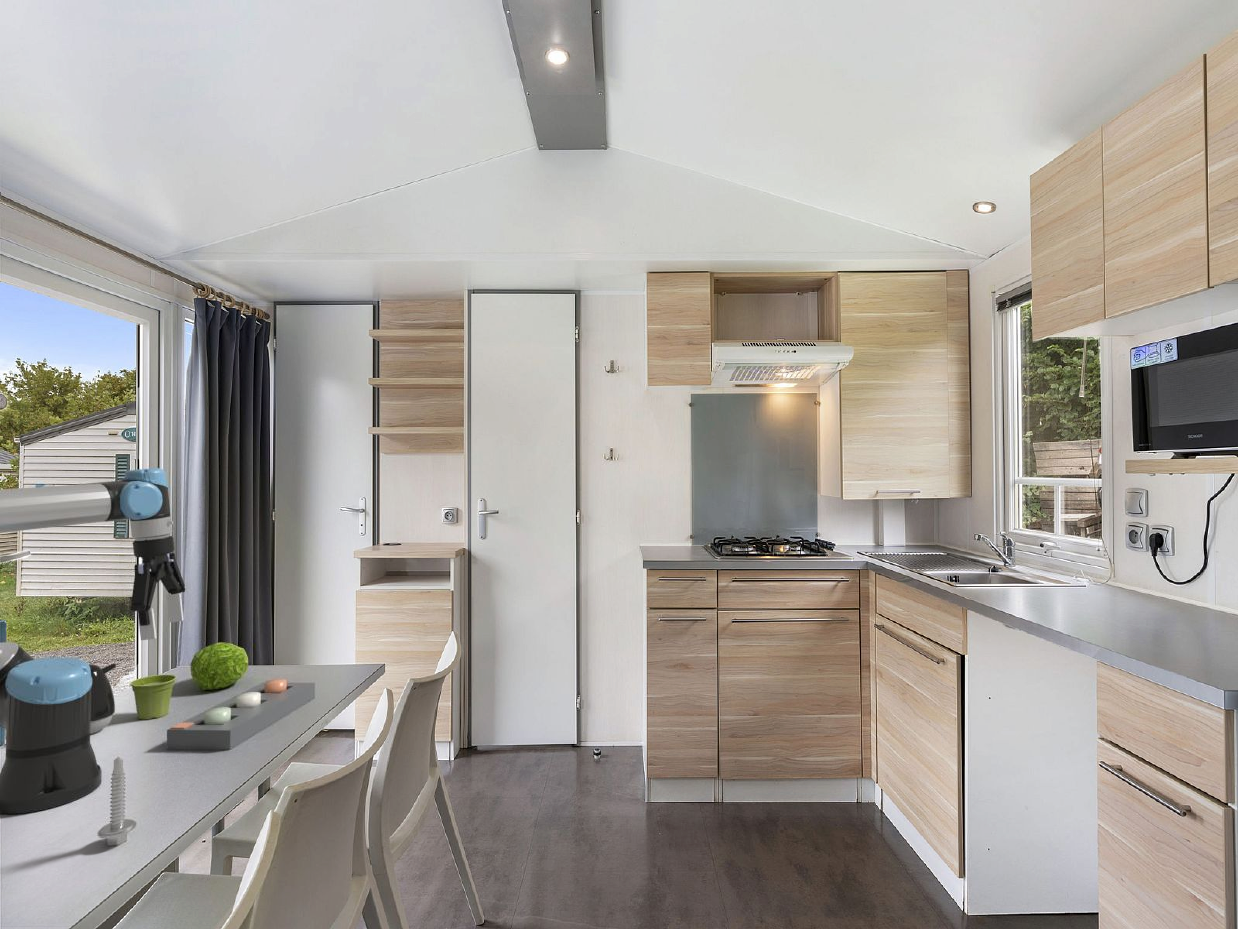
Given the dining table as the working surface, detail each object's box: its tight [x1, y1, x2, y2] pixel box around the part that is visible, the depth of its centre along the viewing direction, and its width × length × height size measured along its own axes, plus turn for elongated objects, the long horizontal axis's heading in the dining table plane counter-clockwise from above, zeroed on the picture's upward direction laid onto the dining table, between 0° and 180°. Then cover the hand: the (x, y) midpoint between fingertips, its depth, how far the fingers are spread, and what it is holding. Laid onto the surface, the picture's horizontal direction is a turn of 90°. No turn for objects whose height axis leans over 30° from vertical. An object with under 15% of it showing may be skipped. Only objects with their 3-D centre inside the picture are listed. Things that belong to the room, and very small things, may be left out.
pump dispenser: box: [88, 662, 117, 735], centre depth 151 cm, size 10×10×15 cm
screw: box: [97, 756, 137, 847], centre depth 103 cm, size 13×5×5 cm
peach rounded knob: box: [263, 678, 288, 693], centre depth 168 cm, size 5×5×4 cm
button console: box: [166, 682, 316, 751], centre depth 157 cm, size 34×14×4 cm, turn 176°
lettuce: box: [190, 642, 249, 691], centre depth 189 cm, size 13×22×14 cm
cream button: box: [236, 692, 261, 708], centre depth 157 cm, size 5×5×4 cm
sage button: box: [204, 707, 231, 725], centre depth 146 cm, size 5×5×4 cm
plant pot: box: [129, 673, 178, 720], centre depth 162 cm, size 9×9×9 cm
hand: (163, 630), depth 150 cm, fingers open, 13 cm apart
